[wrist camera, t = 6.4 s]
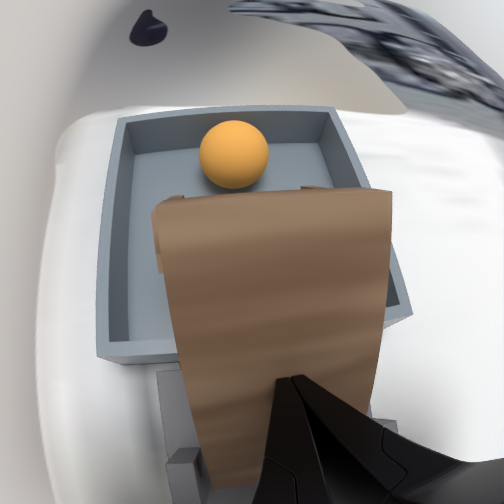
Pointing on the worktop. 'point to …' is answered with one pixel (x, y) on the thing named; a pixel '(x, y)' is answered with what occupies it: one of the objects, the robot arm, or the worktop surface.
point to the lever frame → (196, 449)
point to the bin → (194, 185)
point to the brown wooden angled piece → (271, 306)
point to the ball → (233, 154)
